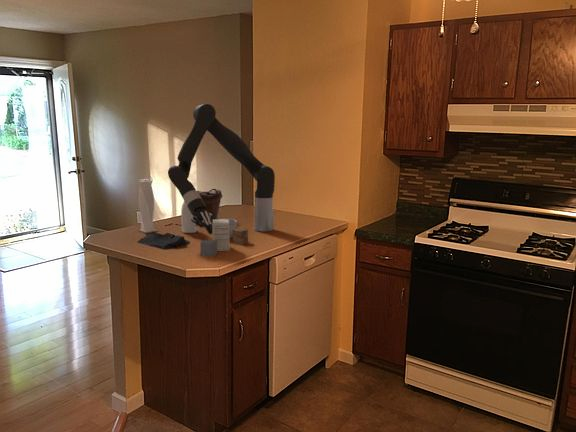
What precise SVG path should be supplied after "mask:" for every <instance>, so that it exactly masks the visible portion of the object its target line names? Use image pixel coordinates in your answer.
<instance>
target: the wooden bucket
mask: <svg viewBox="0 0 576 432" xmlns="http://www.w3.org/2000/svg"><path fill="white" fill-rule="evenodd" d="M196 191H197V192H198V194H199V195H200V197H201V198H202V200H203V202H204V203H205V205H206V209H207V210H208V211H209V213H211V214H213V213H214V214H215V217H214V220H218V215H219V210H220V206H221V200H222V198H223V194H222V190H221V189H216V188H212V189H210V190H209V191H200V190H196Z"/></svg>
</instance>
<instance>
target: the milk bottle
mask: <svg viewBox="0 0 576 432" xmlns="http://www.w3.org/2000/svg"><path fill="white" fill-rule="evenodd" d="M180 215H181V216H180V217H181V221H180V222H181V232H182V233H185V234H193V233H197V231H198V225H197V224H195V223H193V222H192V221H191V220H192V218H193V215H192V214H191V212H190V211H189V209H188V207H187V205H186V204H185V202H184V201H183V203H182V205H181V213H180Z"/></svg>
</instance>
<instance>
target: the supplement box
mask: <svg viewBox="0 0 576 432" xmlns="http://www.w3.org/2000/svg"><path fill="white" fill-rule="evenodd" d="M220 219H221V220H218V219H217V220H213V222H212V232H213V234H212V240H216V241H217V252H226V251H227V252H229V251H230V238H229V220H227V219H224V218H220Z"/></svg>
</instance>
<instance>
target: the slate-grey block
mask: <svg viewBox="0 0 576 432" xmlns="http://www.w3.org/2000/svg"><path fill="white" fill-rule="evenodd" d="M199 243H200V245H199V246H200V256H202V257H209V258H212V257H214V256H216V255H218V251H217V241H216V240H213V239H204V240H202V241H200V242H199Z"/></svg>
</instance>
